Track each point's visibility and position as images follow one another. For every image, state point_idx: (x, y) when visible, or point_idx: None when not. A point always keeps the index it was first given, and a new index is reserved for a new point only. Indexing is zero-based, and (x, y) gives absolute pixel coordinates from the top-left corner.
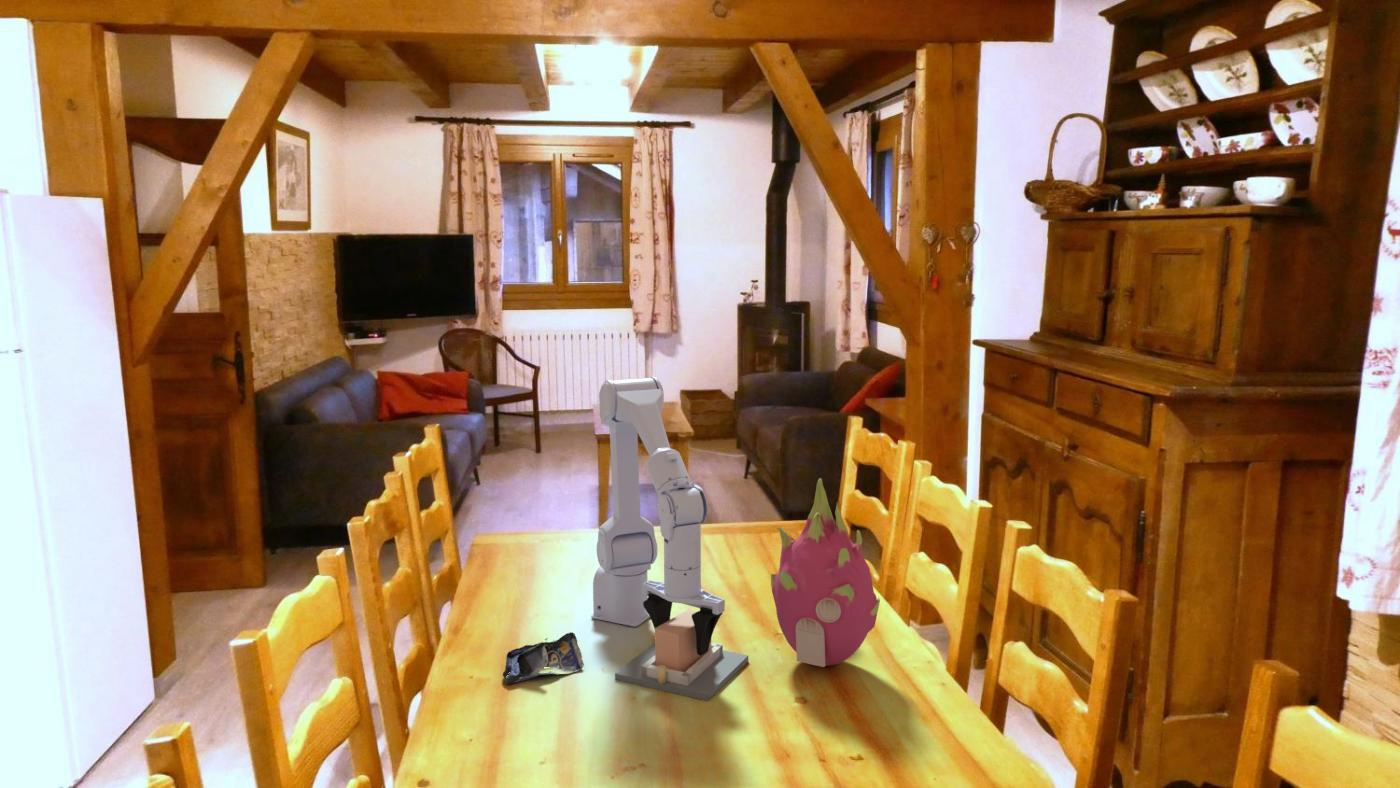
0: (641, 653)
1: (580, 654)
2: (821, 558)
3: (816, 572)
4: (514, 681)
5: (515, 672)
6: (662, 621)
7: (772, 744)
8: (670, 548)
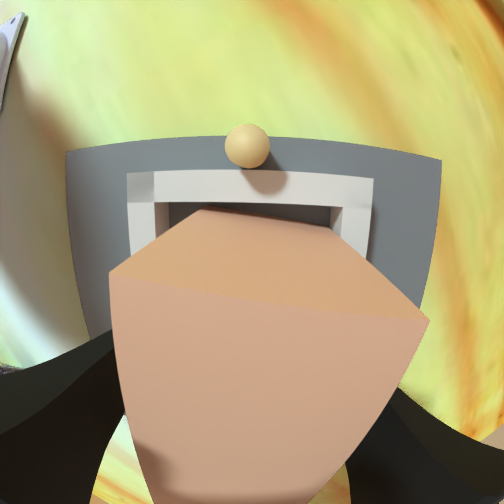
0: (82, 300)
1: (19, 368)
2: None
3: None
4: None
5: None
6: (94, 427)
7: (463, 431)
8: None
